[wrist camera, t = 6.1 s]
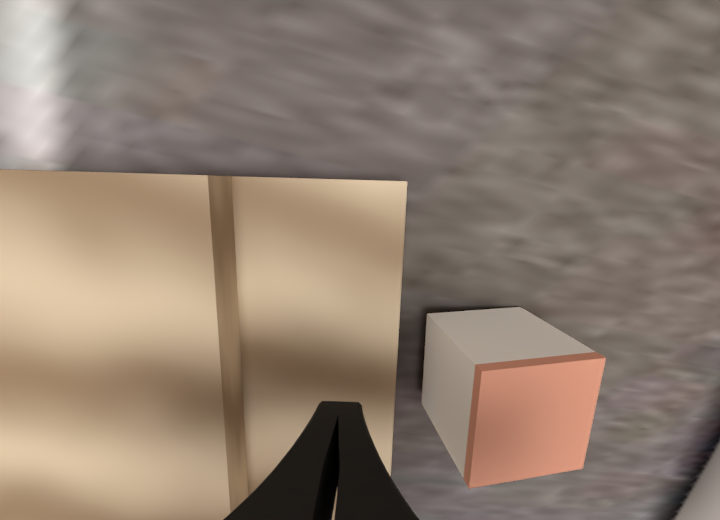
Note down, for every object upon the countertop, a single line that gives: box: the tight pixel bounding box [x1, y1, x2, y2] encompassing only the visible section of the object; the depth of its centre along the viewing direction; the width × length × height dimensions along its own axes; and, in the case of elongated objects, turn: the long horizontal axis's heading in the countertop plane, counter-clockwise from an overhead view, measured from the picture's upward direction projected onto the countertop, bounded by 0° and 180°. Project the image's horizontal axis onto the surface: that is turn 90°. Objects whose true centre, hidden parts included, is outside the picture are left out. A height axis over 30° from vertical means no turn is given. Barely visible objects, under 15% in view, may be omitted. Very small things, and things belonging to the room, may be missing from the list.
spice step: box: [0, 169, 407, 520], centre depth 15 cm, size 16×16×4 cm
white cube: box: [421, 307, 606, 489], centre depth 14 cm, size 4×4×4 cm
